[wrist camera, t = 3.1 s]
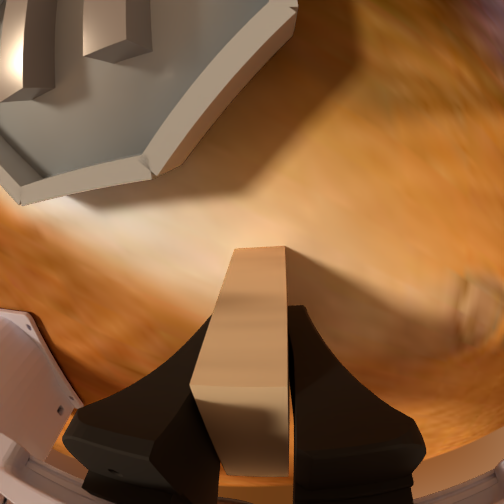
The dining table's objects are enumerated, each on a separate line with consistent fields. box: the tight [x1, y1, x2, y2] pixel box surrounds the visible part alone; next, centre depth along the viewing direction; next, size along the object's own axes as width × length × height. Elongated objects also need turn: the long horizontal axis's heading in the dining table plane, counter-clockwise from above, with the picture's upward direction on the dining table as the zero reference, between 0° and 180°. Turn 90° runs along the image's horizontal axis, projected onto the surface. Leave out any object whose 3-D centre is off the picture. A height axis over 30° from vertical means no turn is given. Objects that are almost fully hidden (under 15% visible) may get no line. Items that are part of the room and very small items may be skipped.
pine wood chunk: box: [189, 246, 289, 477], centre depth 10 cm, size 5×2×7 cm, turn 6°
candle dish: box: [0, 0, 298, 206], centre depth 7 cm, size 16×16×3 cm
